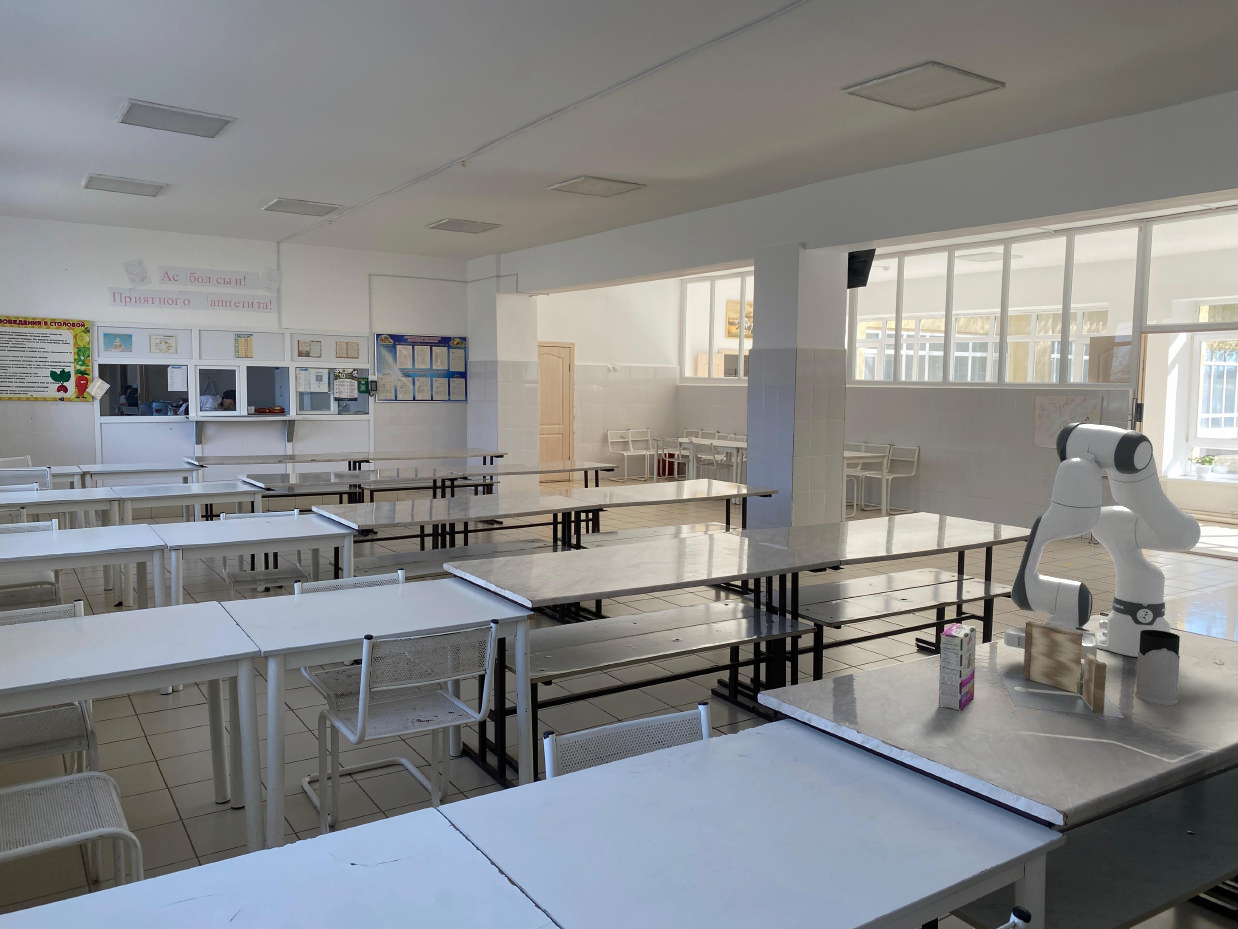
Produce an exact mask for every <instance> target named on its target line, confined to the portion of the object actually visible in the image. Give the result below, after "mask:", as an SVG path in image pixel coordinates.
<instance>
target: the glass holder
mask: <svg viewBox="0 0 1238 929" xmlns="http://www.w3.org/2000/svg"><path fill="white" fill-rule="evenodd" d="M1180 638H1181V636H1180V635H1179V634H1177V633H1173V632H1171V631H1170V632H1166V631H1159V630H1142V631H1140V647H1139V652H1138V657H1137V668H1136V669H1137V671H1136V686H1135V687H1136V689H1135V692H1134V693H1133V695H1134V697H1136V698H1138V699H1139V700H1142V701H1145V702H1149V703H1152V704H1159V705H1167V706H1168V705H1169V706H1170V705H1176V704H1179V700H1178V699H1179V698H1178V689H1179V671H1180V670H1179V669H1180V641H1181V639H1180Z"/></svg>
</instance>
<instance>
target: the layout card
mask: <svg viewBox="0 0 1238 929" xmlns="http://www.w3.org/2000/svg"><path fill="white" fill-rule="evenodd" d="M999 674H1000V676H1001V678H1002V680H1003V683H1004V685H1005V687H1006V689H1007V692H1008V693H1009V696H1010V699H1011V701H1012V703H1013V705H1014V707H1016V708H1025V709H1034V710H1042V711H1051V712H1052V711H1053V712H1063V713H1069V714H1070V713H1071V714H1080V715H1091V716H1099V717H1107V718H1108V717H1110V718H1118V719H1119V718H1120V719H1125V717H1124V716H1123V714H1122V713H1121V712H1120V711H1119V709H1118V708H1117V707H1116V706H1115V705H1114V703H1113V702H1112V700H1111V699H1110V698H1109V697H1108V695H1107V694H1106V693H1105V699H1104V714H1097V713H1094V712H1093V711H1092V710H1093V708H1092V707H1091V706H1090V705H1089V704H1088V702H1087V701H1086V700H1085V699H1084V698H1083V696H1082V695H1080V692H1078V693H1075V692H1072V691H1068V690H1065V689H1061V688H1058V687H1054V686H1051V685H1047V684H1044V683H1040V682H1037V681H1033V680H1028V679H1025V678H1023V673H1014V672H1013V673H1012V672H1003V671H999ZM1080 681H1083V679H1080Z"/></svg>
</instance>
